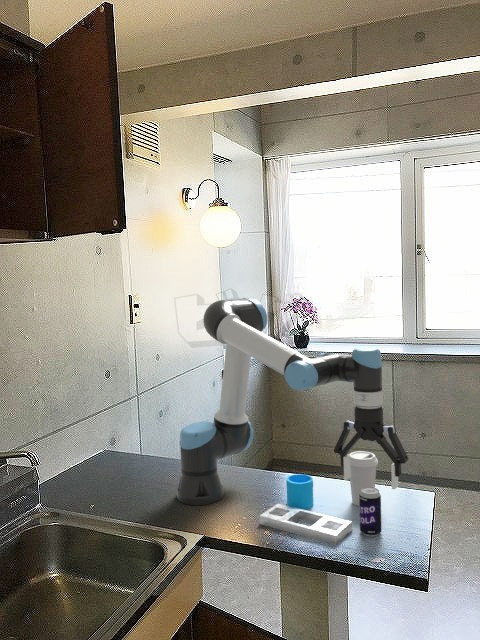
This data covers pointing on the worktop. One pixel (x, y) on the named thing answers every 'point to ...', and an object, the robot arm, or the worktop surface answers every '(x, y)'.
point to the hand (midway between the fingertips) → (370, 483)
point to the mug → (300, 491)
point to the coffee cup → (362, 473)
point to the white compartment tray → (321, 530)
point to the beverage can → (370, 511)
